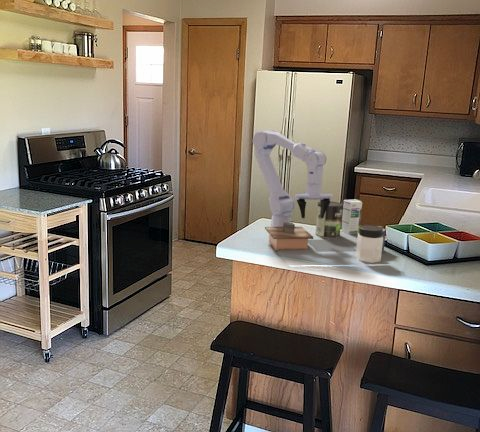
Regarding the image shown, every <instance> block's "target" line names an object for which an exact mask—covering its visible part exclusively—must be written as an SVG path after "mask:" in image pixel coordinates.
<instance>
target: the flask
mask: <svg viewBox="0 0 480 432" xmlns="http://www.w3.org/2000/svg"><path fill="white" fill-rule="evenodd" d="M377 227H380V228H382V229H383V235H382V237H383V245H382V253H383V252H384V251H385V243H386V242H385V241H386V233H387V229H385V228H383V227H384V226H380V225H377Z"/></svg>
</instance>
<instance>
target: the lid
mask: <svg viewBox="0 0 480 432" xmlns="http://www.w3.org/2000/svg"><path fill="white" fill-rule="evenodd" d="M264 230H266V232H267V233H268V235H269V234H270V235H271V236H272V238H273V239H308V240H314V236H313V235H312V234H311V233H310V232H309V231H307V230H306V229H305V228H304V227H302V226H295V223H293V221H292V222H291V221H290V222H283V227H271V226H264Z"/></svg>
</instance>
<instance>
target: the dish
mask: <svg viewBox="0 0 480 432" xmlns="http://www.w3.org/2000/svg"><path fill="white" fill-rule="evenodd" d="M308 240H309V239H273V238H272V236H271V235H270V234H269V233H268V243H269V244H270V245H271V246H272V248H273V249H274V251H275V252H279V251H280V250H283V251H284V250H308V245H309V243H308Z"/></svg>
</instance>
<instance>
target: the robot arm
mask: <svg viewBox="0 0 480 432" xmlns="http://www.w3.org/2000/svg"><path fill="white" fill-rule="evenodd" d="M251 141H252V144H253V147H254V156H255V158H256V162H257V163H258V166H259V169H260V171H261V173H262V176H263V178H264V180H265V184H266V186H267V188H268V191H269V194H270V196H269V198H268V202H269V209H270V212H271V219H270V220H271V221H270V227H283V222H291V217H292V212H293V211H295V207H296V203H297V204H298V206H299V210H300V216H301V219H305V218H306V206H307V202H306V200H307V201H308V200H310V201H311V200H313V201H314V200H318V201H319V200H320V201H319V202H321V211H320V217H321V218H324V214H325V212H326V209H327V207H328V206H329V204H330V201H332V200H333V196H334V195H333V194H332V193H322V192H323V191H322V188H323V171H324V166H325V164H326V163H327V156H326V154H325V152H323V151H321V150H320V151H317V150H316V149H315V148H314V147H313V148H311V147H309V146H307V143H305V142H298V143H296V142H294V141H293V140H291V139H289V138H287V137H286V136H284V135H283V134H281V133H280V132H278V131H276V130H258V131H256V132H255V133H254V135H253V138H252V140H251ZM277 145H278V146H280V147H282V148H284V149H286V150H288V151H290V152H291V153H292V155H293V157H295V158H297V159H298V160H301V161H302V162H304V163H305V164H306V167H307V169H306V170H307V176H306V177H307V178H306V179H307V180H306V192H305V193H297V194H294V199H293V198H292V197H291V196H290V193H288V192H287V191H285V190H284V187H283V185H282V183H281V180H280V178H279V175H278V173H277V171H276V168H275V165H274V163H273V160H272V158H271V156H270V155H271V152H272V151H273V150H274V149H275V147H276V146H277ZM294 200H295V201H296V203H295V201H294Z"/></svg>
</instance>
